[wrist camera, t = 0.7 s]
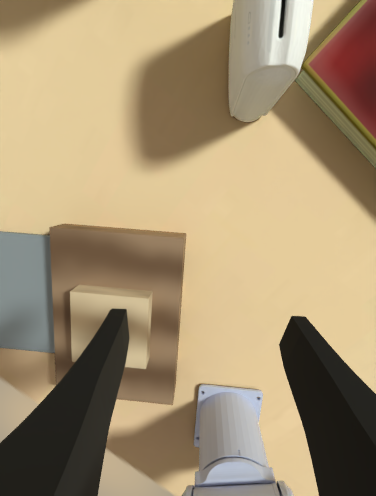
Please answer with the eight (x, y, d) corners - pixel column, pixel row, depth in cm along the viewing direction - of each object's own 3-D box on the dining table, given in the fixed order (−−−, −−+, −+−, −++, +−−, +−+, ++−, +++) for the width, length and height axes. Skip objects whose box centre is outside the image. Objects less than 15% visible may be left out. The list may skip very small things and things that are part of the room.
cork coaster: (149, 357, 30) (145, 369, 28) (80, 350, 31) (71, 361, 29) (152, 291, 28) (148, 298, 27) (78, 284, 29) (70, 291, 27)
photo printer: (228, 5, 25) (251, -164, 13) (274, 3, 25) (342, -171, 13) (225, 123, 27) (242, 71, 15) (267, 122, 27) (319, 69, 15)
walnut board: (175, 386, 34) (172, 404, 31) (68, 375, 35) (56, 392, 32) (186, 233, 30) (184, 238, 27) (64, 223, 31) (49, 227, 28)
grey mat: (68, 351, 34) (66, 354, 34) (-8, 344, 35) (-11, 346, 34) (64, 236, 31) (62, 237, 30) (-19, 229, 31) (-23, 230, 31)
